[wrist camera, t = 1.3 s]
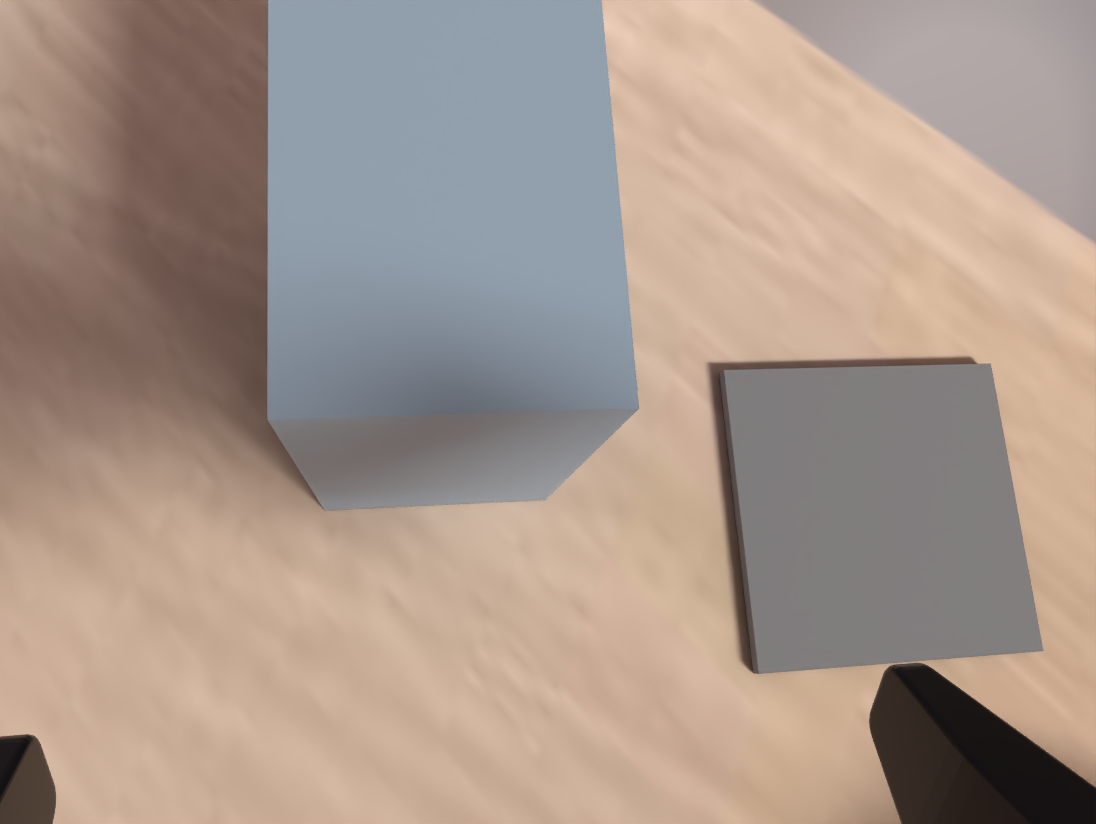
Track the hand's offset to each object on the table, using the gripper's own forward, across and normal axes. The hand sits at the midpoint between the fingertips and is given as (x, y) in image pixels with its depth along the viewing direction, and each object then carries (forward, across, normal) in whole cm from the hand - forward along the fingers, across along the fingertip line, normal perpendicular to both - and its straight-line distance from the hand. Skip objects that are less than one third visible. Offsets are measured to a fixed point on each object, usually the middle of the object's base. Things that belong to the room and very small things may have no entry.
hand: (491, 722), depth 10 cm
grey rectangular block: (+15, 0, +4) cm, 16 cm away
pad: (+12, -12, +7) cm, 18 cm away
